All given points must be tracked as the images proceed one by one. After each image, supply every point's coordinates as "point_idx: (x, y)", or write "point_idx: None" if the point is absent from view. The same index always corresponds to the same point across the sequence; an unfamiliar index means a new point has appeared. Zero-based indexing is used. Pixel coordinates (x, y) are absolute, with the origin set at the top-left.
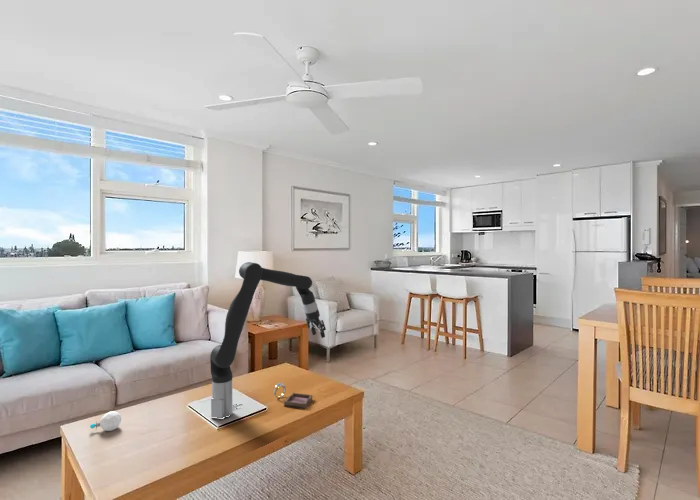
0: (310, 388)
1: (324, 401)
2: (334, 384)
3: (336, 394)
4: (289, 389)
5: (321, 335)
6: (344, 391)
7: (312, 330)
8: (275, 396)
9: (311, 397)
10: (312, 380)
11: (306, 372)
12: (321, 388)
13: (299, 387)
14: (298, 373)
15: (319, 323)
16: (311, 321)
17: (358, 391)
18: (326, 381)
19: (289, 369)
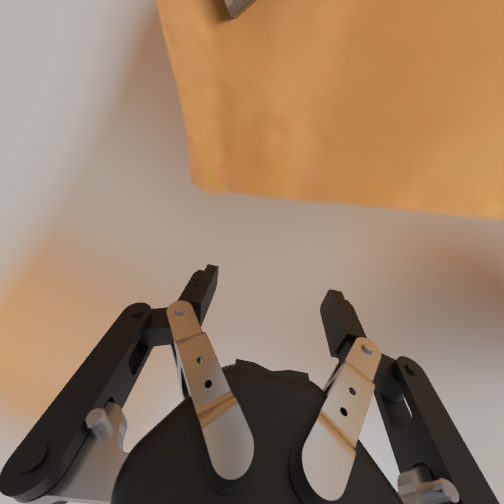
0: (314, 111)
1: (196, 53)
2: (270, 186)
3: (216, 136)
4: (399, 19)
5: (200, 277)
6: (218, 167)
7: (341, 327)
8: None
9: (226, 3)
10: (346, 170)
11: (400, 206)
12: (281, 139)
13: (361, 84)
14: (429, 186)
15: (46, 439)
16: (312, 498)
17: (198, 188)
18: (302, 189)
19: (487, 194)
